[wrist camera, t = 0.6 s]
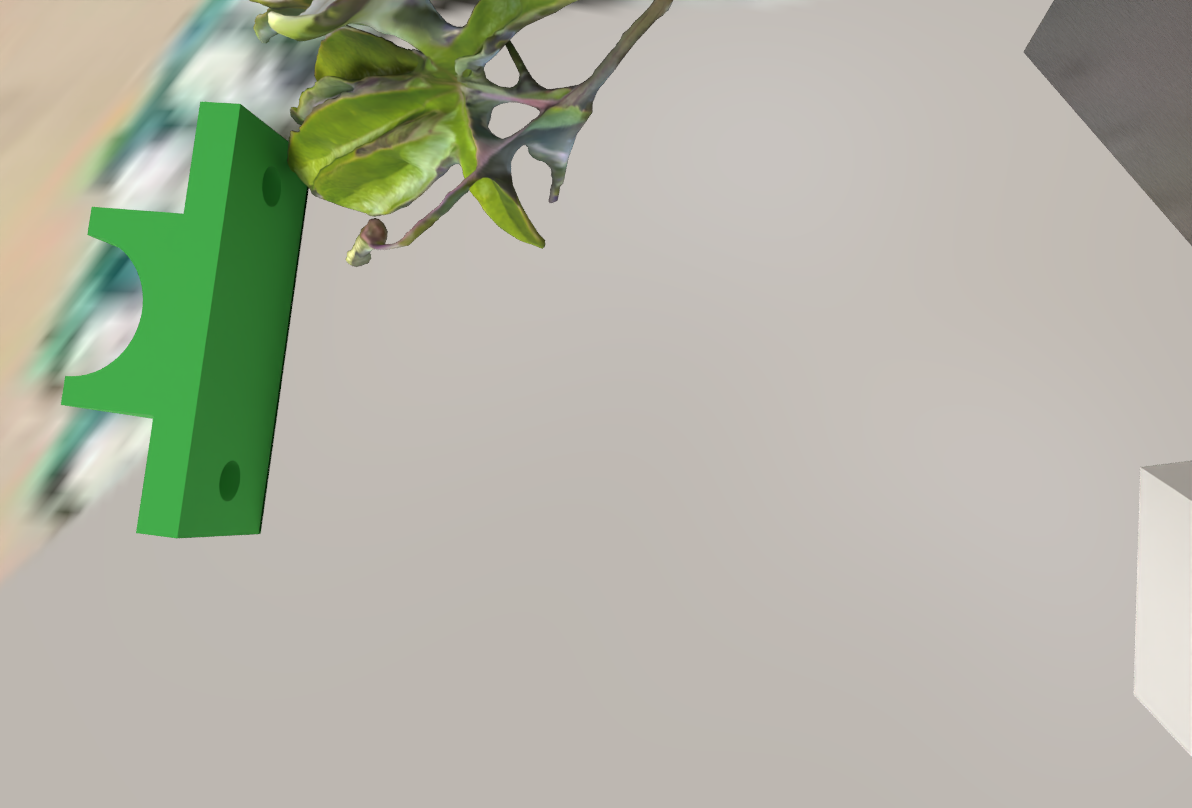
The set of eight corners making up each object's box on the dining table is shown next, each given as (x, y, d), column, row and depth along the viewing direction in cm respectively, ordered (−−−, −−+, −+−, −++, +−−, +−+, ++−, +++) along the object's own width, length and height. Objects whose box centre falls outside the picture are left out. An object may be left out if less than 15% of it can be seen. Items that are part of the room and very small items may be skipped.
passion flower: (539, 36, 36) (690, -307, 26) (641, 308, 33) (860, 29, 23) (196, 29, 31) (220, -401, 21) (273, 350, 28) (346, 15, 18)
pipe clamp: (199, 154, 32) (108, 94, 27) (314, 161, 31) (241, 101, 27) (142, 521, 31) (38, 521, 26) (261, 535, 30) (174, 538, 26)
